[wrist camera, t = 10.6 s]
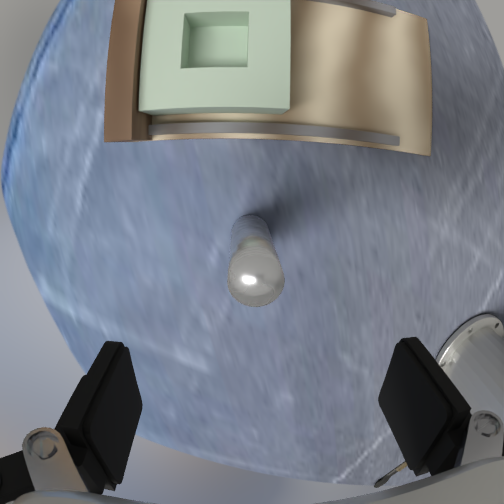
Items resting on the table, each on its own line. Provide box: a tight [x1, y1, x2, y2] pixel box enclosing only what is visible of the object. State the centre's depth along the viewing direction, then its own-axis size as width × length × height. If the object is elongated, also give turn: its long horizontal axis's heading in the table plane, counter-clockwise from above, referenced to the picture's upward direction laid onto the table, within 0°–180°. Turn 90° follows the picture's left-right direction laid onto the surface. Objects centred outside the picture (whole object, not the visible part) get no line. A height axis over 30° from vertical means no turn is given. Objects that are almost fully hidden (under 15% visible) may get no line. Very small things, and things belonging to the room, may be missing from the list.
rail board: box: [104, 0, 432, 156], centre depth 19 cm, size 26×14×6 cm, turn 89°
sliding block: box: [139, 0, 291, 116], centre depth 19 cm, size 10×10×4 cm
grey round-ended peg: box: [227, 215, 285, 307], centre depth 22 cm, size 3×3×10 cm
